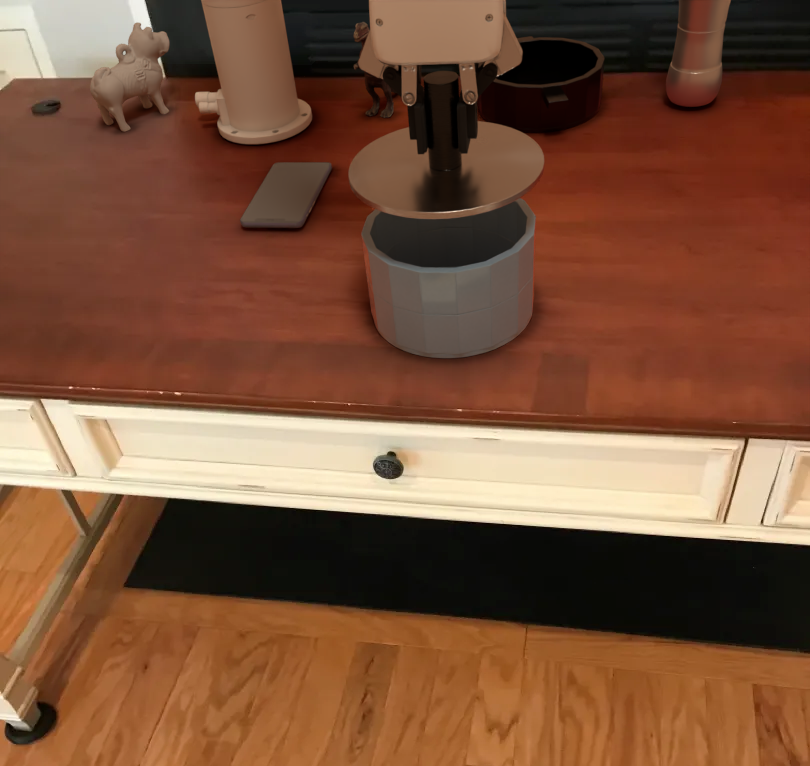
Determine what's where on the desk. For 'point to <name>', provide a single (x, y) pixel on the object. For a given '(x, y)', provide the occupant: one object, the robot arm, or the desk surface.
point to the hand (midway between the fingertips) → (444, 144)
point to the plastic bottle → (697, 53)
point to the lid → (446, 164)
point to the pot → (451, 279)
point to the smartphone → (286, 195)
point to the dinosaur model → (373, 78)
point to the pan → (546, 87)
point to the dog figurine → (132, 75)
